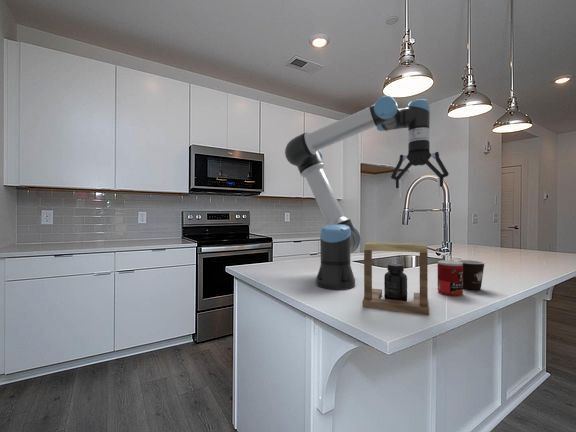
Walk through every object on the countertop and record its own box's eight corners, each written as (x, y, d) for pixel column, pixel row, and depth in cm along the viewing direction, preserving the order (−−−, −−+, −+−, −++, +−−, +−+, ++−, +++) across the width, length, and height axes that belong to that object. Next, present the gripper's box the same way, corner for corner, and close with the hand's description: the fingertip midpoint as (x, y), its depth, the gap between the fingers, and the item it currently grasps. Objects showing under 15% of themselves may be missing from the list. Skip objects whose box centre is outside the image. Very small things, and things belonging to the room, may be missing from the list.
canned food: (454, 297, 97) (454, 264, 96) (432, 292, 104) (432, 261, 104) (468, 294, 100) (468, 262, 100) (446, 289, 107) (446, 259, 107)
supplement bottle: (412, 304, 90) (412, 265, 90) (393, 306, 88) (393, 267, 88) (397, 298, 96) (397, 262, 96) (379, 300, 94) (379, 263, 94)
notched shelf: (370, 294, 101) (370, 239, 101) (427, 300, 94) (427, 241, 94) (362, 306, 88) (362, 244, 88) (428, 315, 80) (428, 246, 80)
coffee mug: (476, 286, 111) (476, 260, 111) (489, 292, 103) (489, 264, 103) (444, 285, 113) (444, 259, 112) (455, 291, 104) (455, 263, 104)
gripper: (384, 142, 114) (384, 196, 115) (456, 135, 104) (456, 194, 104) (386, 146, 121) (386, 197, 121) (454, 140, 111) (454, 195, 111)
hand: (418, 196), depth 113 cm, fingers open, 13 cm apart
